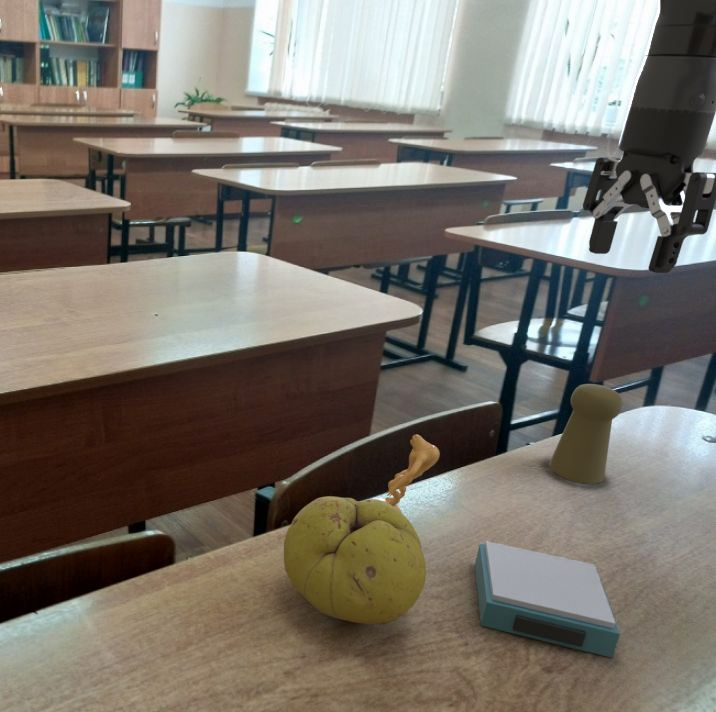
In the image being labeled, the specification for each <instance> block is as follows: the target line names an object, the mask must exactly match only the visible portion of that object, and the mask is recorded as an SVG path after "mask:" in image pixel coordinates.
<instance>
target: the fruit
mask: <svg viewBox="0 0 716 712" xmlns="http://www.w3.org/2000/svg"><path fill="white" fill-rule="evenodd" d="M376 499H377V498H376ZM376 499H375V498H367V499H364V500H360V501H358V500H356V499H354V498H352V497H340V496H329V495H327V496H322V497H321V496H320V497H318V498H316V499H314V500H312V501H311V502H309V503H308V504H306V505H305V506H304V507H302V509H300V510H299V512H298V513H297V514H296V515H295V517H294V518H293V519H292V521H291V523H290V525H289V527H288V529H287V531H286V534H285V537H284V541H283V565H284V569H285V572H286V575H287V577H288V579H289V581H290V583H291V584H292V586H293V587H294V588H295V589H296V590H297V591H298V592H299V594H301V596H303V597H304V598H305V599H306V600H307V601H308V602H309V603H310V604H311V605H312V606H313V607H314V608H315V609H316V610H318V611H319V612H321V613H322V614H324V615H326V616H328V617H331V618H335V619H339V620H343V621H346V622H351V623H355V624H364V625H382V624H387V623H390V622H392V621H394V620H396V619H398V618H401V616H403V615H404V614H406V613H407V612H408V611H409V610H410V609H411V608H412V607H413V606H415V604H416V602H417V601H418V599H419V598H420V595H422V592H423V589H424V587H425V584H426V577H427V563H426V560H425V555H424V553H423V550H422V544H421V540H420V537H419V535H418V533H417V531H416V529H415V527H414V526H413V524H412V523H411V521H410V520H409V519H408V518H407V516H405V515H404V514H403V512H402V511H401V512H402V513H401V512H400V511H399V510H397V509H396V508H395V507H393V506H392V505H390V504H388V503H387V502H384V501H381V500H376Z"/></svg>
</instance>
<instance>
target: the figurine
mask: <svg viewBox="0 0 716 712" xmlns="http://www.w3.org/2000/svg"><path fill="white" fill-rule="evenodd" d="M410 445H411V446H412V449H411V451H410V453H409V455H408V468H407V469H404V470H402V471H401V472H398V473H396V474H395V475H394V479H391V480H390V481H389V482H388V484H387V486H388V491H386V494H387V495H386V496H387V497H385V498H376V500H381V501H384V502H387V503H388V504H390V505H392V506H393V507H395V508H396V509H397V510H399V511H400V512H401V513H402V514H403V512H402V510H401V508H400V507H399V506H398V504H399V503H400V502H401V499H403V498H404V497H405V496H406V492H407V487H408V485H409V484H411V483H412V482H413V480H415V479H416V480H417V478H418V477H421V476H422V475H423V474H424V472H426V471H428V470H430V469H431V467H433V466H434V465H435V464H436V463H437V462H438V460H439V459H440V456H441V455H440V454H441V453H440V450H439V448H438V447H437V446H436V445H433V444H431V443H430V442H428V441H426V439H424V438H423V437H422V436H421V435H419V434H414V435H413V436H412V437H411V439H410Z"/></svg>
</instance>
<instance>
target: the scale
mask: <svg viewBox="0 0 716 712" xmlns="http://www.w3.org/2000/svg"><path fill="white" fill-rule="evenodd" d="M474 571H475V572H474V573H475V579H476V580H475V582H476V591H477V600H478V610H479V611H478V612H479V619H480V626H482V627H484V628H490V629H493V630H497V631H501V632H504V633H505V632H506V633H510V634H513V635H518V636H522V637H526V638H529V639H533V640H538V641H541V642H546V643H550V644H554V645H559V646H561V647H562V646H563V647H565V648H570V649H574V650H577V651H582V652H586V653H590V654H594V655H597V656H603V657H606V658H611V659H612V658H613V655H614V653H615V650H616V648H617V645H618V641H619V639H620V636H621V631H620V630H619V627H618V623H617V621H616V618H615V615H614V613H613V610H612V607H611V604H610V602H609V599H608V596H607V593H606V591H605V587H604V585H603V582H602V579H601V576H600V574H599V570H598V568H597V567H596V565H595V564H593V563H590V562H585V561H581V560H577V559H576V560H575V559H572V558H567V557H566V558H565V557H562V556H557V555H553V554H548V553H543V552H539V551H535V550H531V549H530V550H529V549H524V548H520V547H516V546H510V545H506V544H502V543H497V542H493V541H488V540H486V541H485V543H482V542H480V543H479V545H478V549H477V553H476V557H475V562H474Z"/></svg>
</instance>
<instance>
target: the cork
mask: <svg viewBox="0 0 716 712" xmlns="http://www.w3.org/2000/svg"><path fill="white" fill-rule="evenodd" d="M570 405H571V408H572V412H571V414H570V416H569V418H568V421H567V422H566V425H565V427H564V430H563V432H562V433H561V436H560V438H559V441H558V443H557V445H556V447H555V449H554V451H553V454H552V456H551V458H550V460H549V462H548V467H549V469H550V470H551V471H552V472H553V473H554V474H556V475H558V476H560V477H561V478H564V479H566V480H569V481H571V482H575V483H579V484H586V485H597V484H600V483H603V482H604V481H605V475H606V468H607V460H608V452H609V446H610V439H611V432H612V423H613V420H614V419H615V418H617V417H618V416H619V414H620V412H621V410H622V407H623V399H622V396H621V394H620V393H619V392H617V391H616V390H615V389H612V388H610V387H608V386H605V385H601V384H595V383H583V384H580V385H578V386H576V388H575V389H574V390H573V392H572V394H571V397H570Z"/></svg>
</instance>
